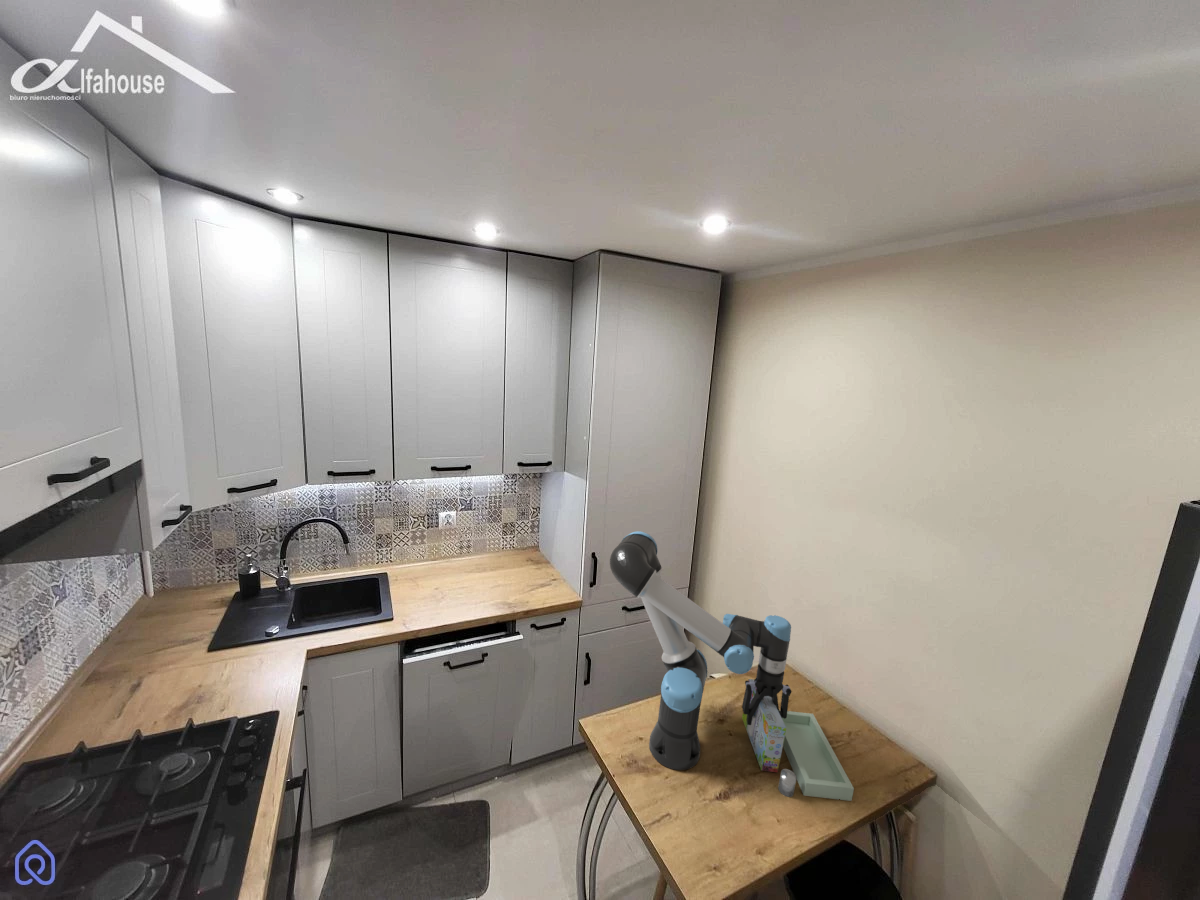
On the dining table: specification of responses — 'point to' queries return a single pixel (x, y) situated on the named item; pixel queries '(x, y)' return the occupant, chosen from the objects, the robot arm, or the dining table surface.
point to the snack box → (767, 733)
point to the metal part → (787, 782)
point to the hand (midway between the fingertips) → (760, 734)
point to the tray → (814, 759)
